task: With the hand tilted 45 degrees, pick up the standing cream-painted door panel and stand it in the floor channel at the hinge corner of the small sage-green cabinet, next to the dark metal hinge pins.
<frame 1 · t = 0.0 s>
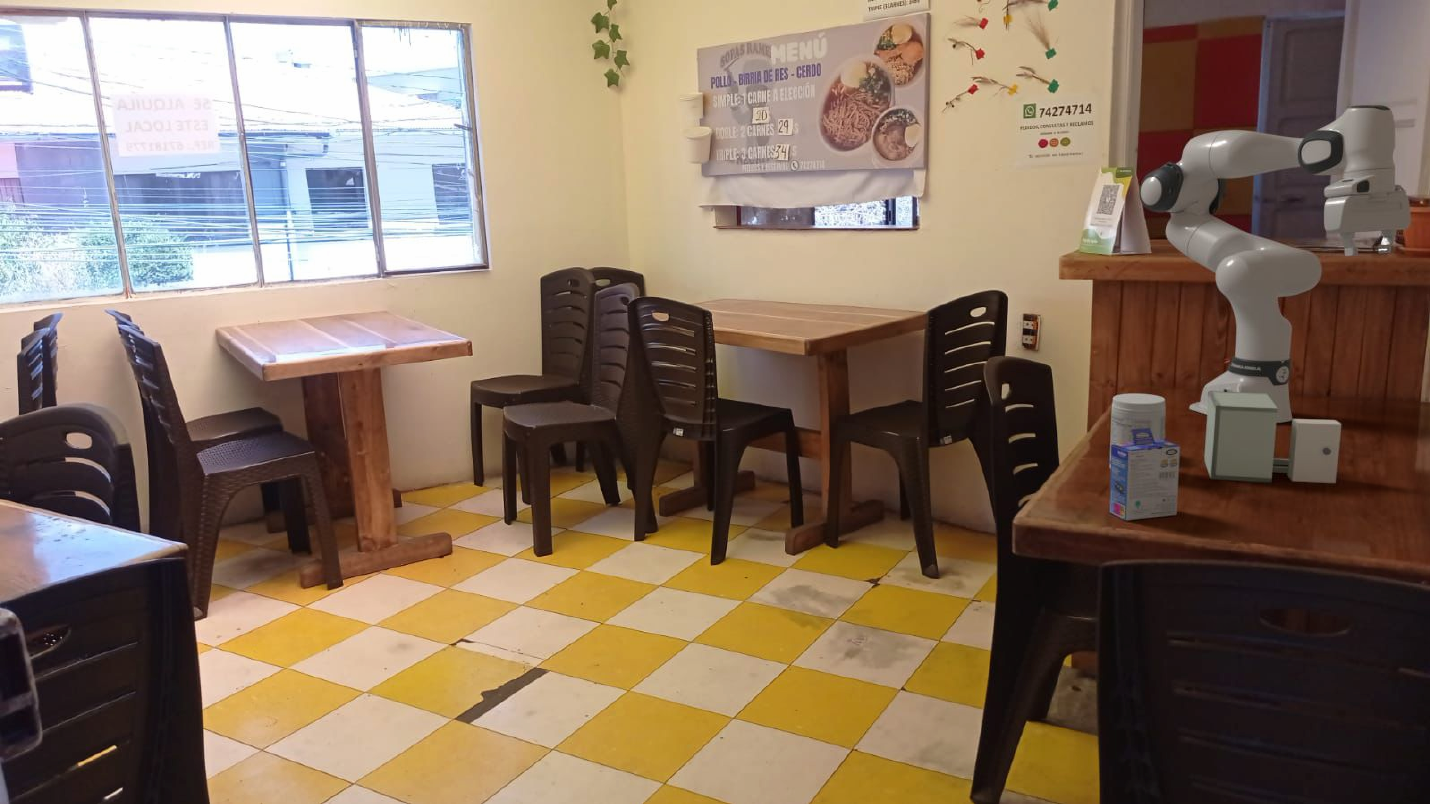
hand: (1368, 254, 201), 39 cm above the table, tool pointing down, fingers open, 8 cm apart
ink cartridge box: (1141, 515, 166), on the table
decorative fruit: (1141, 457, 201), on the table
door: (1311, 479, 182), on the table
cabinet: (1289, 468, 189), on the table
supplement tub: (1135, 473, 190), on the table
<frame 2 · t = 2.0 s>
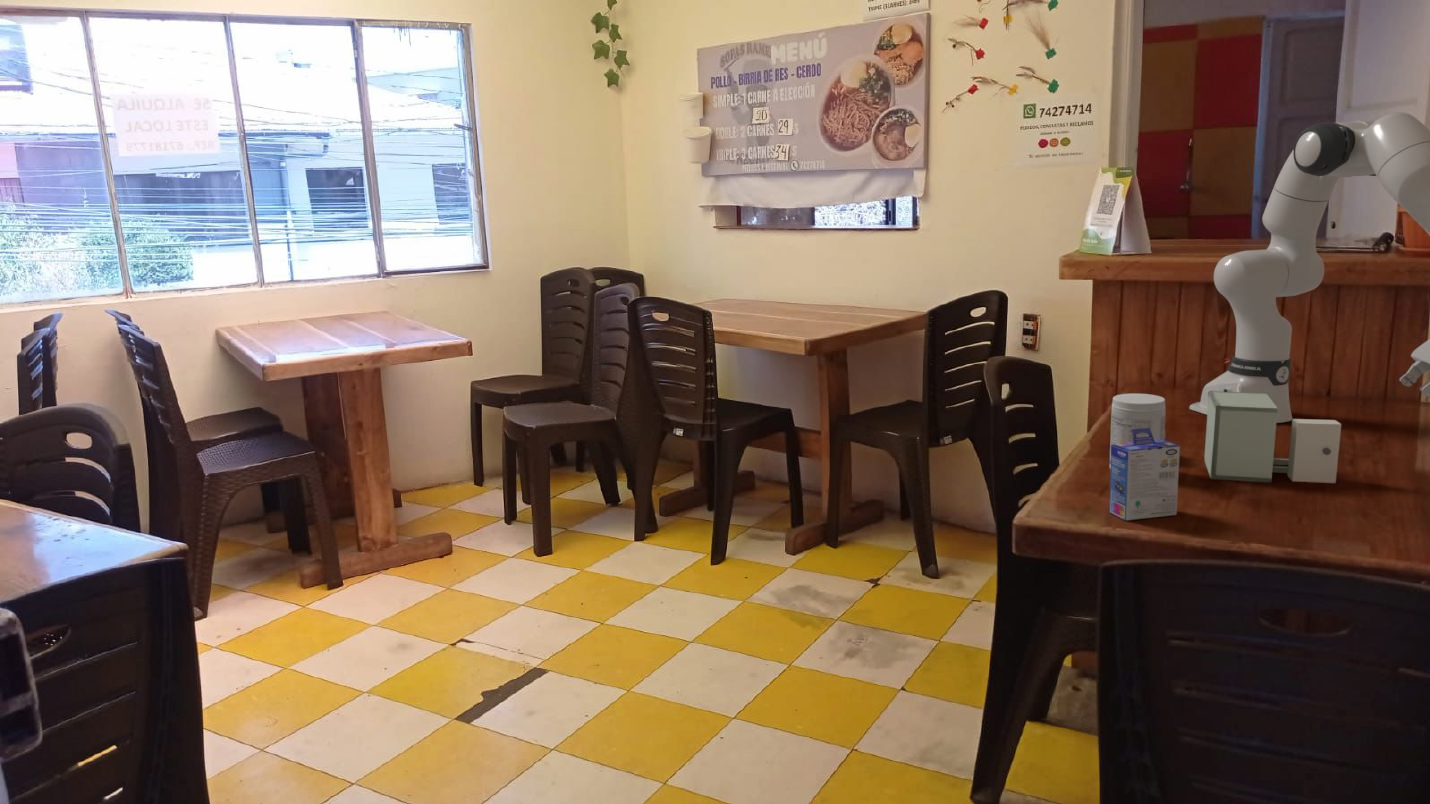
hand: (1413, 388, 174), 18 cm above the table, tool tilted 45°, fingers open, 8 cm apart
nothing on the table moved.
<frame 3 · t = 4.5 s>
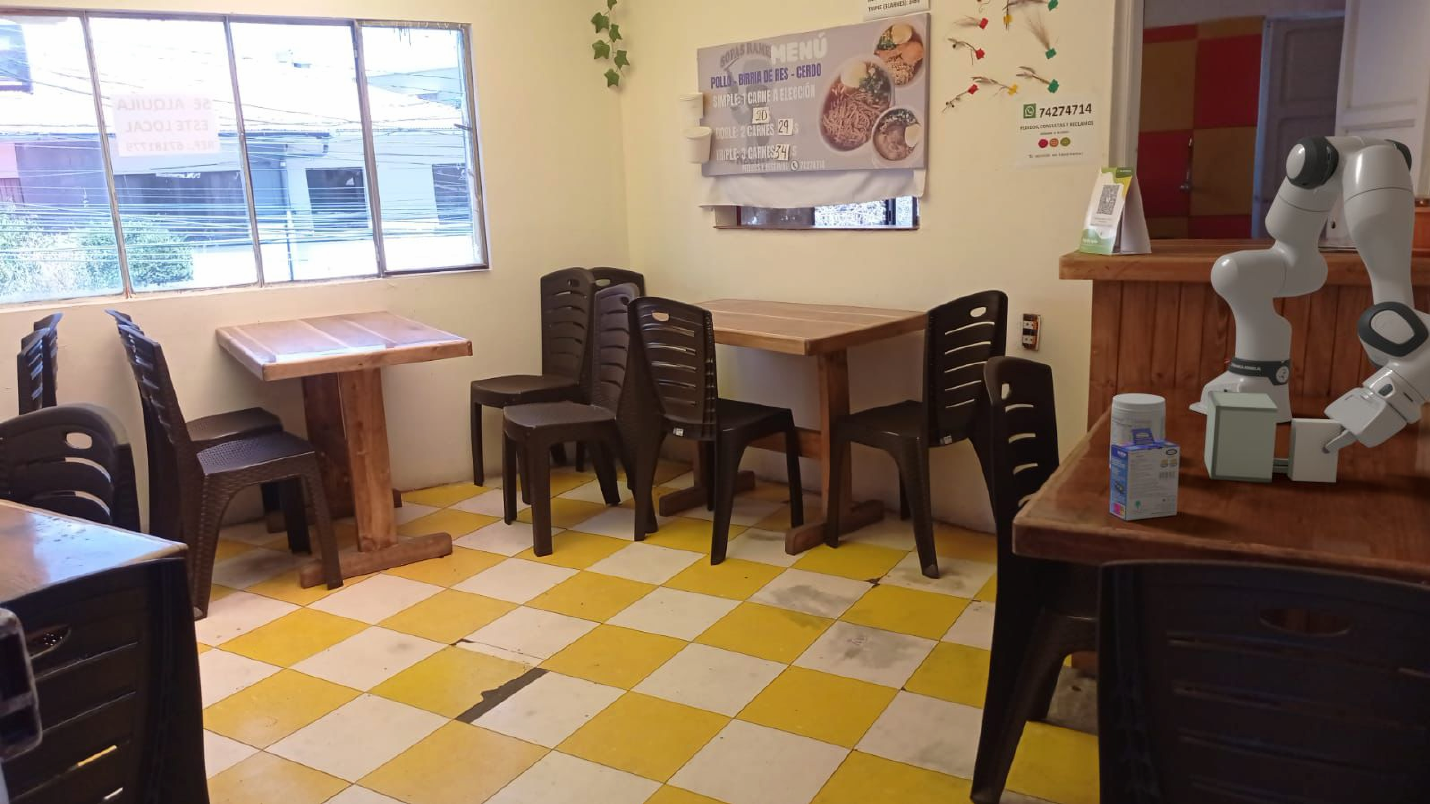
hand: (1322, 446, 180), 6 cm above the table, tool tilted 45°, fingers closed on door, 4 cm apart
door: (1311, 479, 182), on the table, touching gripper
everything else where it was.
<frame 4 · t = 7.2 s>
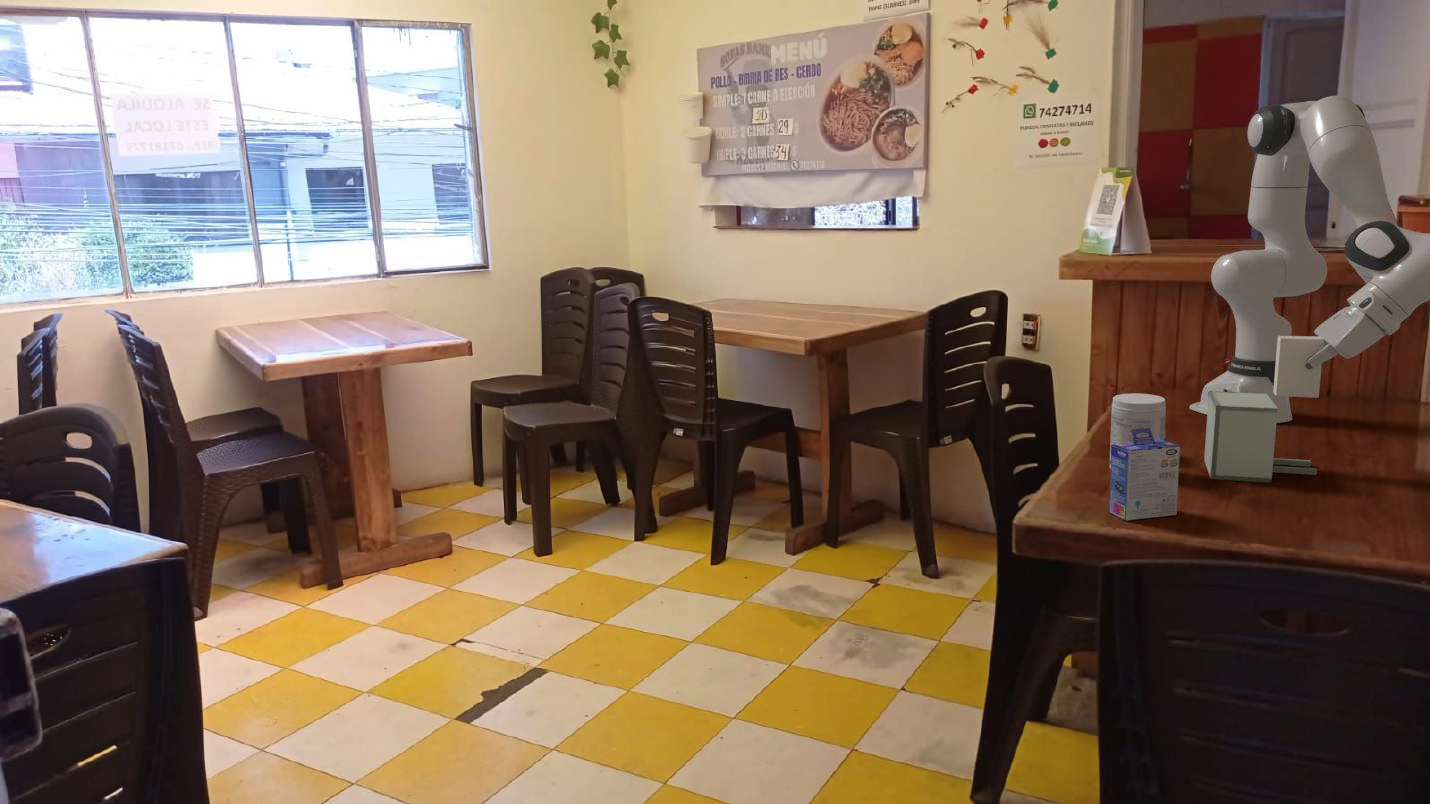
hand: (1307, 362, 184), 21 cm above the table, tool tilted 45°, fingers closed on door, 4 cm apart
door: (1295, 395, 186), point 14 cm above the table, touching gripper
everything else where it was.
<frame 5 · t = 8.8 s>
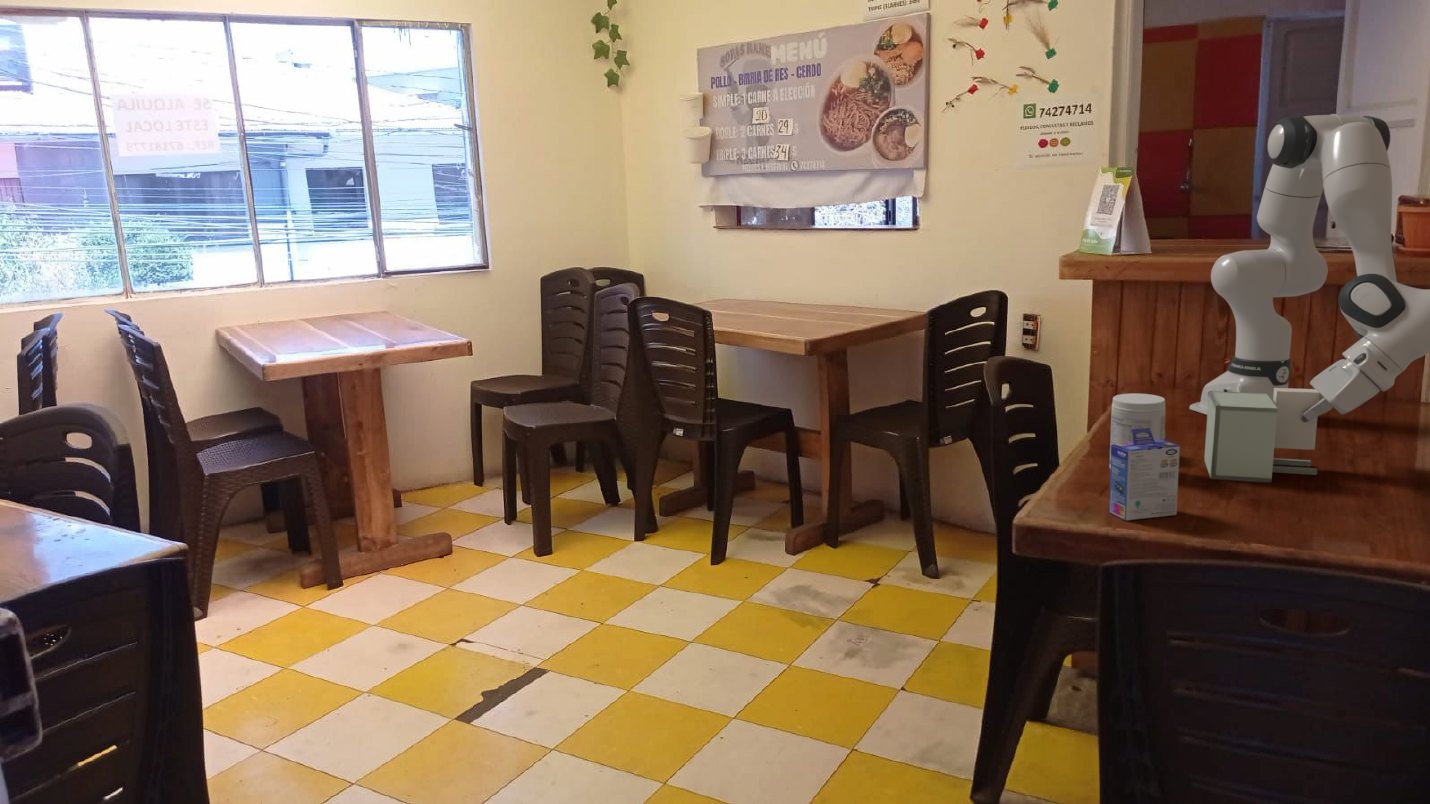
hand: (1303, 414, 186), 11 cm above the table, tool tilted 45°, fingers closed on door, 4 cm apart
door: (1291, 446, 188), point 4 cm above the table, touching gripper
everything else where it was.
when the fingers open (8 cm above the table, at t = 9.8 s): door drops 1 cm, resting in cabinet.
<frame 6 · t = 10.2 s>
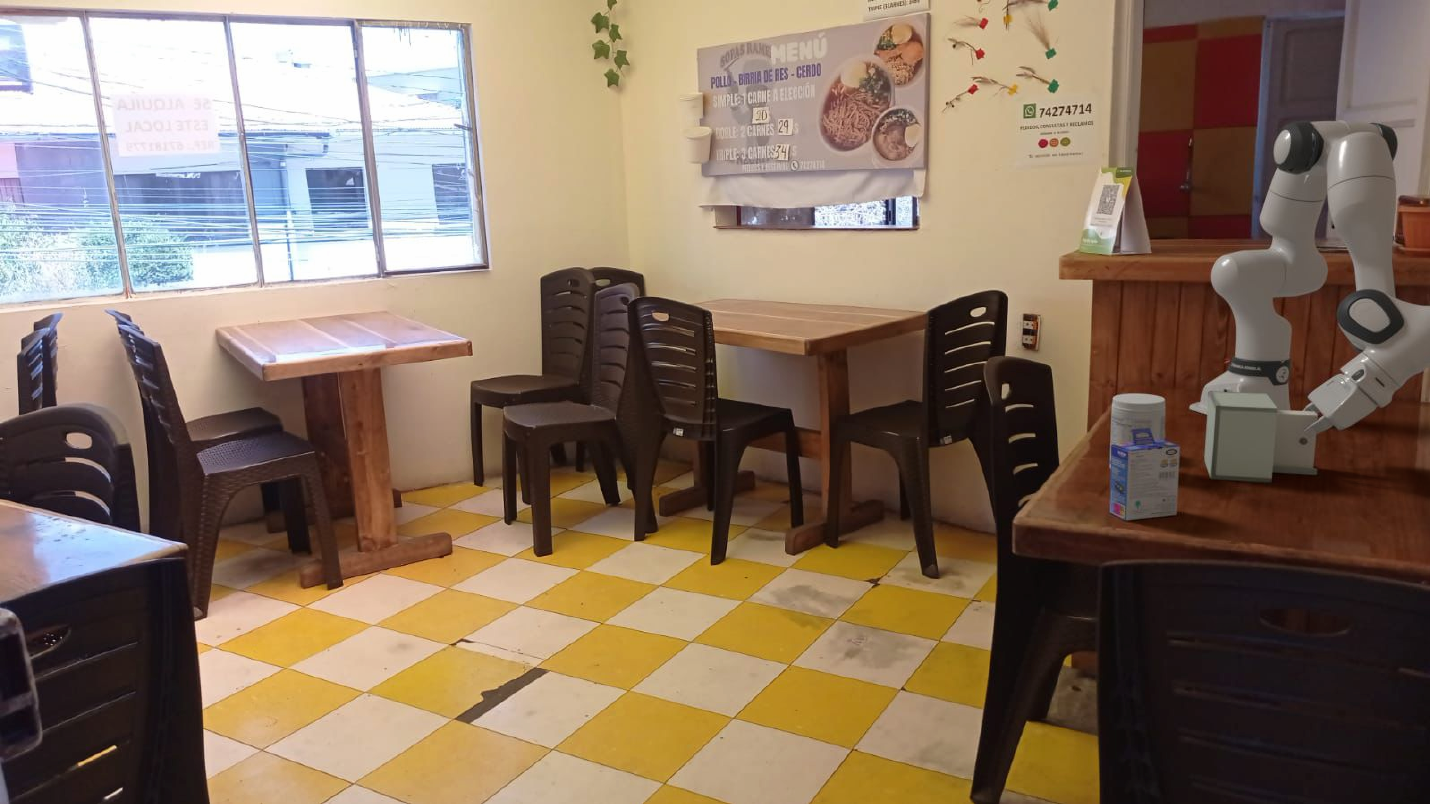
hand: (1300, 429, 187), 8 cm above the table, tool tilted 45°, fingers open, 8 cm apart
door: (1289, 468, 190), resting in cabinet
everything else where it was.
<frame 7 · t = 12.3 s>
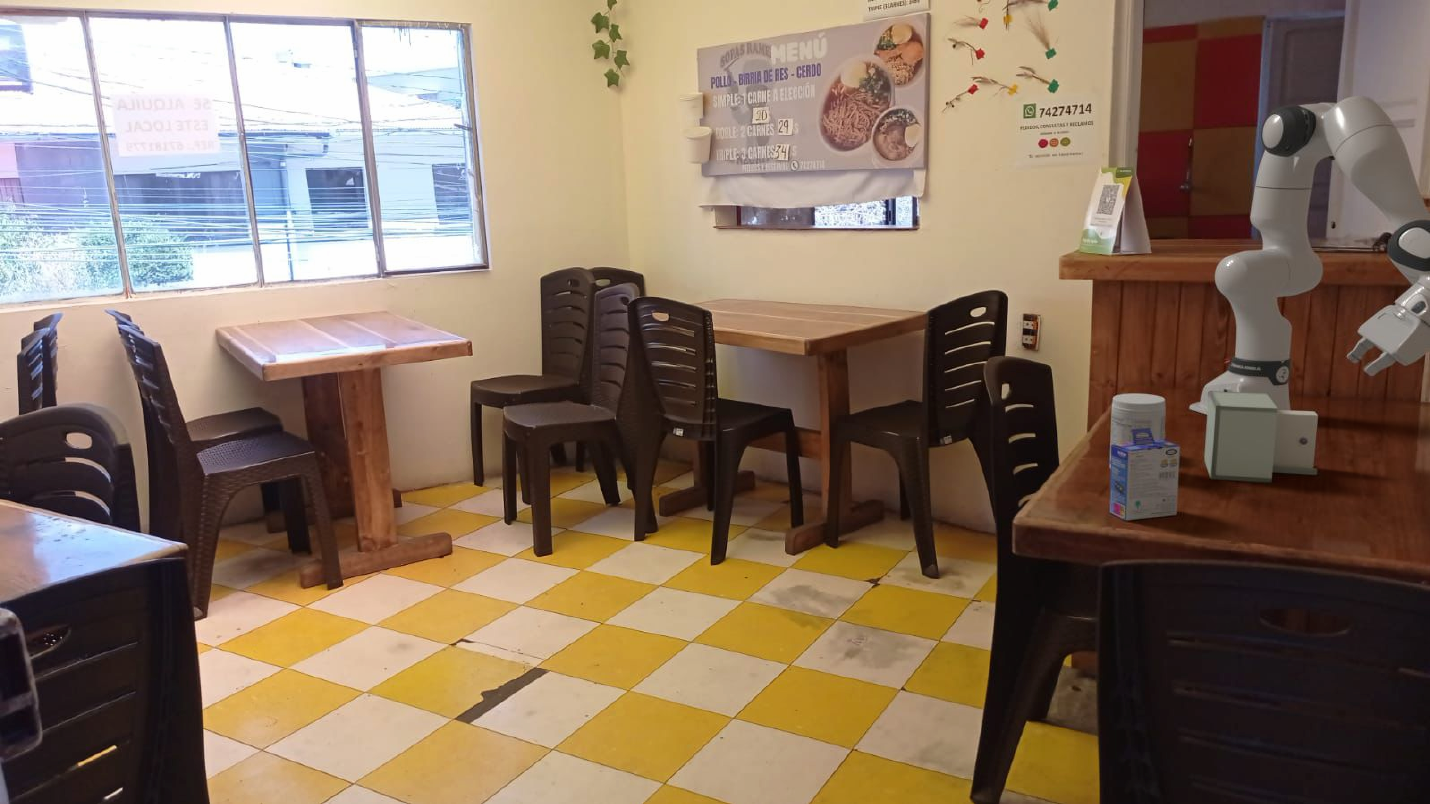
hand: (1358, 366, 183), 20 cm above the table, tool tilted 40°, fingers open, 8 cm apart
nothing on the table moved.
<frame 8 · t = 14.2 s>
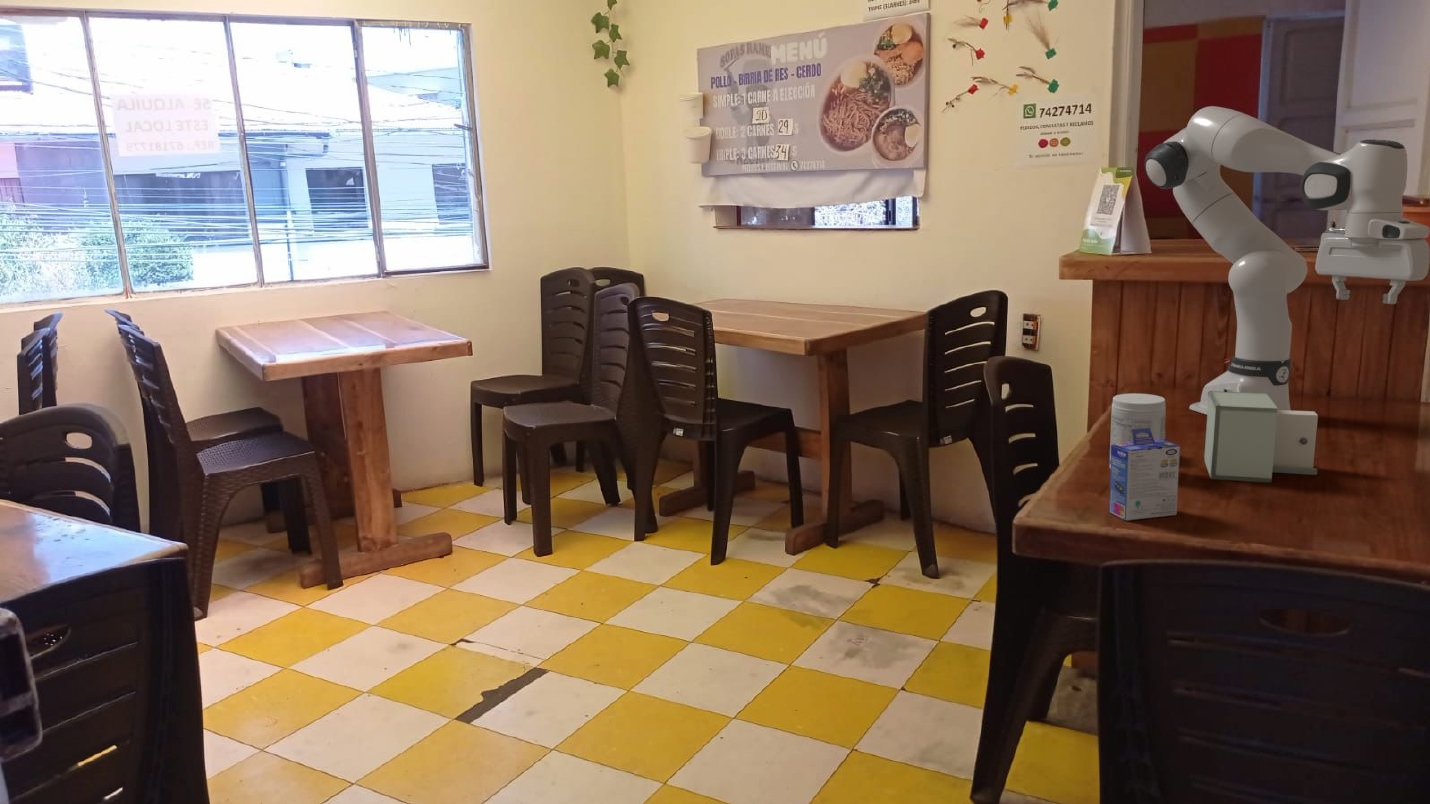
hand: (1365, 301, 188), 31 cm above the table, tool pointing down, fingers open, 8 cm apart
nothing on the table moved.
at the end: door 0.4 cm off-centre on the cabinet, point 0.0 cm above the cabinet's base; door tilted 0°; the gripper is holding nothing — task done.
